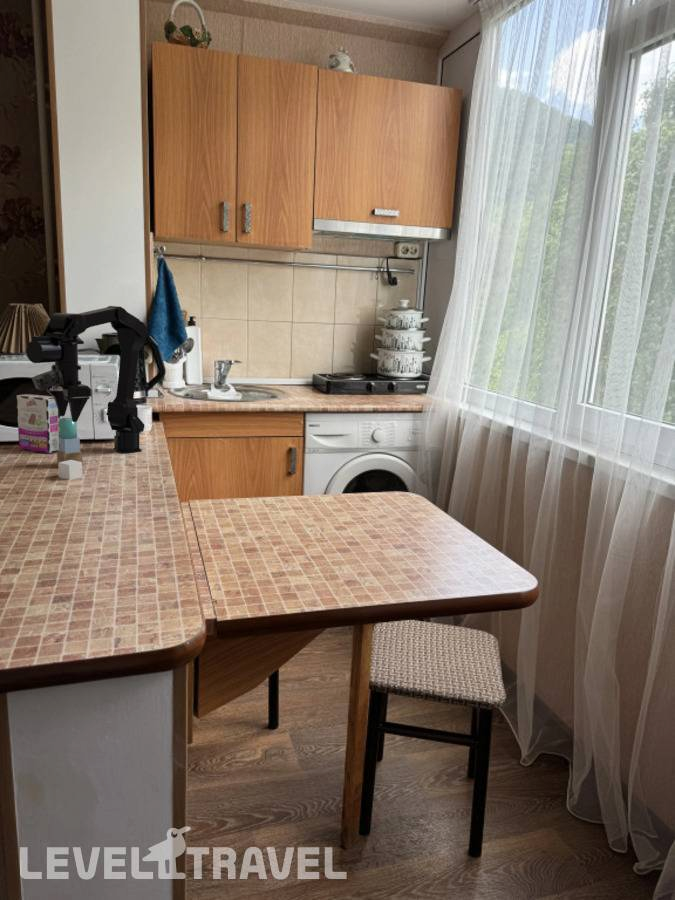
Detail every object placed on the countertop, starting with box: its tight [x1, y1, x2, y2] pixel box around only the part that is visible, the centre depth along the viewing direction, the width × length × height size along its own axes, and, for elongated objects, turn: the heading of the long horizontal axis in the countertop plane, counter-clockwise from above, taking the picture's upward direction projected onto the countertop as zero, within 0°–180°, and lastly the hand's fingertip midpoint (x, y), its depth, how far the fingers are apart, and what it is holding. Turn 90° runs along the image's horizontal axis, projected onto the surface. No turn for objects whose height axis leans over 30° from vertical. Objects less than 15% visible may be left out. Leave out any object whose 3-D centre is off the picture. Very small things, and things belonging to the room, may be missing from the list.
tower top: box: [59, 436, 81, 454], centre depth 176 cm, size 4×4×4 cm
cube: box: [57, 460, 83, 481], centre depth 166 cm, size 4×4×4 cm
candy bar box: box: [16, 393, 60, 454], centre depth 190 cm, size 11×5×16 cm, turn 73°
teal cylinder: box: [59, 417, 78, 439], centre depth 175 cm, size 4×4×5 cm
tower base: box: [56, 450, 84, 467], centre depth 177 cm, size 5×5×4 cm
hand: (68, 418), depth 175 cm, fingers open, 9 cm apart
